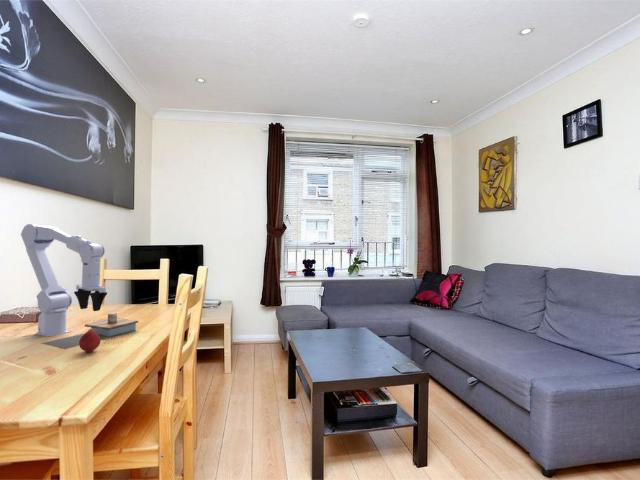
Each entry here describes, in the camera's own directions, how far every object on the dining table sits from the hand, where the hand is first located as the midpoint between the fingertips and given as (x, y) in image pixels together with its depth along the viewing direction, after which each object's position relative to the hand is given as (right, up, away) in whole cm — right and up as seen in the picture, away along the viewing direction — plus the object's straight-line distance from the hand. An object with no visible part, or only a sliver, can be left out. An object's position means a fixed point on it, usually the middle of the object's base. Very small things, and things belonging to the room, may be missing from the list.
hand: (90, 309), depth 129 cm
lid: (+5, -7, +5) cm, 10 cm away
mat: (-1, -10, -7) cm, 13 cm away
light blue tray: (+6, -11, +6) cm, 13 cm away
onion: (+13, -11, -19) cm, 25 cm away
